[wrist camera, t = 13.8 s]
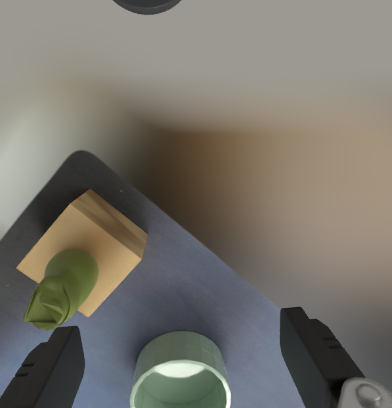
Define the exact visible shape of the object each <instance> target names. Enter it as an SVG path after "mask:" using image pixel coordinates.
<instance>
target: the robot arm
mask: <svg viewBox="0 0 392 408" xmlns="http://www.w3.org/2000/svg"><path fill="white" fill-rule="evenodd" d="M280 347H281V352H282V356H283V358H284V361H285V363H286V365H287V367H288V370H289V372H290V374H291V376H292V378H293V381H294V383H295V385H296V387H297V389H298V392H299V394H300V396H301V398H302V400H303V403H304V405H305V407H306V408H392V394H391V393H390V392H389V391H388V390H387V389H386V388H385V387H383V386H382V385H381V384H379V383H377V382H375V381H373V380H370V379H367V378H366V377H365V376H364V375H363V373H362V372H361V371H360V370H359V368H358V367H357V365H356V364H355V363H354V361H353V360H352V359H351V357H350V356H349V355H348V353H347V352H346V351H345V349H344V348H343V347H342V346H341V344H340V342H339V341H338V340H337V339H336V338H335V336H334V335H333V333H332V332H331V330H330V329H329V328H328V327H327V326H326V325H325V324H323V323H322V322H320V321H319V320H317V319H309V318H308V316H307V315H306V313H305V312H304V310H303V309H302V308H301V307H293V308H282V309H281V312H280ZM84 368H85V359H84V353H83V347H82V342H81V336H80V331H79V328H78V326H68V327H57V328H56V329H55V330H54V332H53V333H52V335H51V337H50V338H49V340H48V342H44V343H40V344H39V345H38V346H37V347H36V348H35V349H33V350H32V351H31V352H30V353H29V354H28V356H27V357H26V359H25V360H24V362H23V364H22V367H20V368H19V370H18V371H17V373H16V374H15V377H14V378H13V379H12V381H11V382H10V384H9V385H8V387H7V388H6V390H5V392H4V393H3V395H2V396H1V398H0V408H71V407H72V405H73V402H74V399H75V397H76V394H77V391H78V389H79V386H80V383H81V380H82V378H83V374H84Z"/></svg>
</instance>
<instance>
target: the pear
mask: <svg viewBox="0 0 392 408" xmlns="http://www.w3.org/2000/svg"><path fill="white" fill-rule="evenodd" d="M98 275H99V268H98V264H97V262H96V260H95V259H94V258H93V256H91V255H90V254H89V253H87V252H86V251H83V250H80V249H66V250H63V251H60V252H59V253H57V254H56V255H54V256H53V257H52V258H51V260H50V261H49V262H48V264H47V266H46V268H45V272H44V278H43V279H42V281H41V282H40V283H39V284H38V286H37V287H36V289H35V290H34V292H33V294H32V297H31V299H30V302H29V304H28V307H27V309H26V311H25V314H24V316H23V317H24V322H30V323H32V324H33V325H34V326H36V327H37V328H39V329H43V330H50V329H54V328H55V327H57V326H60V325H62V324H63V323H64V322H66V321H67V320H69V319H70V318H71V317H72V316H73V315H74V313H75V312H76V310H77V308H78V307H80V306H81V305H82V304H83V303H84V302H85V301H86V299H87V298H88V296H89V295H90V293H91V292H92V290H93V288H94V287H95V285H96V282H97V280H98Z"/></svg>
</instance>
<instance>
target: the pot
mask: <svg viewBox="0 0 392 408" xmlns="http://www.w3.org/2000/svg"><path fill="white" fill-rule="evenodd" d="M230 404H231V391H230V386H229V381H228V376H227V371H226V366H225V362H224V359H223V356H222V353H221V351H220V350H219V348H218V347H217V346H216V345H215V344H214V343H213V342H212V341H211V340H210V339H208V338H207V337H205V336H203V335H201V334H198V333H194V332H189V331H174V332H169V333H166V334H163V335H160V336H158V337H156V338H155V339H153V340H152V341H150V342H149V343H148V344H147V345H146V346H145V347H144V348H143V349H142V351H141V352H140V354H139V356H138V359H137V362H136V366H135V370H134V376H133V382H132V388H131V393H130V408H229V407H230Z"/></svg>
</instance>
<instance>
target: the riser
mask: <svg viewBox="0 0 392 408" xmlns="http://www.w3.org/2000/svg"><path fill="white" fill-rule="evenodd" d="M147 237H148V234H147V233H145V232H144V231H143V230H142V229H140V228H139V227H138V226H137V225H135V224H134V223H133V222H132V221H130V220H129V219H128V218H127V217H125V216H124V215H123V214H121V213H120V212H119V211H118V210H116V209H115V208H114V207H113V206H111V205H110V204H109V203H108V202H106V201H105V200H104V199H103V198H101V197H100V196H99V195H98V194H96V193H95V192H94V191H93V190H91V189H89V190H88V191H86V192H85V193H84V194H82V195H81V196H80V197H78V198H77V199H76V200H74V201H73V202H72V203H70V204H69V205H68V206H67V208H66V209H65V210H64V211H63V212H62V214H61V215H60V216H59V217H58V218H57V220H56V221H55V222H54V223H53V224H52V226H51V227H50V228H49V229H48V230H47V232H46V233H45V234H44V235H43V236H42V238H41V239H40V240H39V241H38V242H37V243H36V245H35V246H34V247H33V248H32V249H31V251H30V252H29V253H28V254H27V255H26V257H25V258H24V259H23V260H22V261H21V263H20V264H19V265H18V266H17V267H16V268H17V269H18V270H19V271H21V272H22V273H24V274H25V275H27V276H28V277H30V278H31V279H33V280H34V281H36V282H37V283H38V284H39V283H40V282H41V281H42V279H43V278H44V272H45V268H46V266H47V264H48V262H49V261H50V260H51V258H52V257H53V256H54V255H56V254H57V253H59V252H60V251H63V250H66V249H80V250H83V251H86V252H87V253H89V254H90V255H91V256H93V258H94V259H95V260H96V262H97V264H98V268H99V275H98V280H97V282H96V285H95V287H94V288H93V290H92V292H91V293H90V295H89V296H88V298H87V299H86V301H85V302H84V303H83V304H82V305H81V306H80V307H78V308H77V310H78V311H79V312H81V313H82V314H84V315H85V316H87V317H89V316H90V315H91V314H92V313H93V312H94V311H95V310H96V309H97V307H98V306H99V305H100V304H101V303H102V302H103V301H104V300H105V299H106V298H107V297H108V296H109V294H110V293H111V292H112V291H113V290H114V289H115V288H116V287H117V286H118V285H119V284H120V282H121V281H122V280H123V279H124V278H125V277H126V276H127V275H128V274H129V273H130V272H131V271H132V269H133V268H134V267H135V266H136V265H137V264H138V263H139V262H140V261H141V260H142V256H143V253H144V249H145V245H146V241H147Z"/></svg>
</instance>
